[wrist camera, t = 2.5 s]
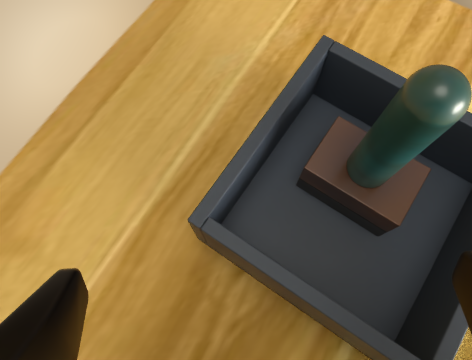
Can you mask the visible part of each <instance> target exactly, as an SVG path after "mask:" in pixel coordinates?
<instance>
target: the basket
mask: <svg viewBox="0 0 472 360" xmlns="http://www.w3.org/2000/svg"><path fill="white" fill-rule="evenodd" d="M406 80H407V79H406V78H404V77H402V76H400V75H398V74H396V73H395V72H393V71H391V70H389V69H387V68H385V67H383V66H381V65H380V64H378V63H376V62H374V61H372V60H370V59H368V58H366V57H364V56H363V55H361V54H359V53H357V52H355V51H353V50H351V49H349V48H348V47H346V46H344V45H342V44H340V43H338V42H336V41H335V42H334V40H332V39H331V38H329V37H327V36H325V35H323V36H322V38H321V39H320V40H319V42H318V43H317V44H316V46H315V47H314V48H313V50H312V51H311V53H310V54H309V55H308V57H307V58H306V59H305V61H304V62H303V63H302V65H301V66H300V67H299V69H298V70H297V72H296V73H295V74H294V76H293V77H292V78H291V80H290V81H289V82H288V84H287V85H286V87H285V88H284V89H283V91H282V92H281V93H280V95H279V96H278V97H277V99H276V100H275V101H274V103H273V104H272V106H271V107H270V108H269V110H268V111H267V112H266V114H265V115H264V116H263V118H262V119H261V120H260V122H259V123H258V125H257V126H256V127H255V129H254V130H253V131H252V133H251V134H250V135H249V137H248V138H247V140H246V141H245V142H244V144H243V145H242V146H241V148H240V149H239V150H238V152H237V153H236V154H235V156H234V157H233V159H232V160H231V161H230V163H229V164H228V165H227V167H226V168H225V169H224V171H223V172H222V174H221V175H220V176H219V178H218V179H217V180H216V182H215V183H214V184H213V186H212V187H211V188H210V190H209V191H208V193H207V194H206V195H205V197H204V198H203V199H202V201H201V202H200V203H199V205H198V206H197V207H196V209H195V210H194V212H193V213H192V214H191V216H190V217H189V218H188V222H189V224H190V225H191V227H192V229H193V230H194V232H195V234H196V236H197V238H198V239H199V240H201V241H202V242H204V243H205V244H206V245H208V246H209V247H211V248H212V249H214V250H215V251H217V252H218V253H219V254H221V255H222V256H224V257H225V258H227V259H228V260H230V261H231V262H232V263H234V264H235V265H237V266H238V267H240V268H241V269H242V270H244V271H245V272H247V273H248V274H250V275H251V276H253V277H254V278H255V279H257V280H258V281H260V282H261V283H263V284H264V285H265V286H267V287H268V288H270V289H271V290H273V291H274V292H276V293H277V294H278V295H280V296H281V297H283V298H284V299H286V300H287V301H289V302H290V303H291V304H293V305H294V306H296V307H297V308H299V309H300V310H301V311H303V312H304V313H306V314H307V315H309V316H310V317H312V318H313V319H314V320H316V321H317V322H319V323H320V324H322V325H323V326H325V327H326V328H327V329H329V330H330V331H332V332H333V333H335V334H336V335H337V336H339V337H340V338H342V339H343V340H345V341H346V342H348V343H349V344H350V345H352V346H353V347H355V348H356V349H358V350H359V351H360V352H362V353H363V354H365V355H366V356H368V357H369V358H371V359H372V360H454V358H455V355H456V353H457V351H458V349H459V347H460V344H461V342H462V340H463V338H464V335H465V333H466V331H467V329H468V327H469V326H468V324H467V321H466V318H465V316H464V313H463V311H462V308H461V305H460V303H459V300H458V298H457V295H456V293H455V290H454V287H453V285H452V280H451V277H452V272H453V270H454V268H455V265H456V263H457V261H458V259H459V256H460V254H461V253H462V252H464V251H472V113H470V112H468V111H466V113H465V114H464V116H463V117H462V118H461V119H460V120H459V121H457V122H456V123H455V124H454V125H453V126H451V127H450V128H449V129H448V130H447V131H446V132H444V133H443V134H442V135H441V136H440V137H438V138H437V139H436V140H435V141H434V142H432V143H431V144H430V145H429V146H428V147H426V148H425V149H424V150H423V151H422V152H421V153H419V154H418V155H417V156H416V157H415V158H413V159H415V160H417V161H419V162H420V163H422V164H424V165H426V166H427V167H429V168H431V171H430V172H429V174H428V176H427V178H426V180H425V182H424V183H423V185H422V187H421V189H420V191H419V192H418V194H417V196H416V198H415V200H414V202H413V203H412V205H411V207H410V209H409V211H408V212H407V214H406V216H405V218H404V220H403V222H402V223H401V225H400V226H399V227H397V228H395V229H393V230H391V231H389V232H387V233H385V234H383V235H381V236H379V237H378V236H376V235H374V234H373V233H371V232H370V231H368V230H366V229H365V228H363V227H362V226H360V225H358V224H357V223H355V222H354V221H352V220H350V219H349V218H347V217H346V216H344V215H342V214H341V213H339V212H338V211H336V210H334V209H333V208H331V207H330V206H328V205H326V204H325V203H323V202H322V201H320V200H318V199H317V198H315V197H314V196H312V195H310V194H309V193H307V192H306V191H304V190H302V189H301V188H299V187H298V186H296V183H297V181H298V179H299V177H300V175H301V173H302V170H303V168H304V167H305V165H306V164H307V162H308V161H309V159H310V158H311V156H312V155H313V153H314V152H315V150H316V148H317V147H318V145H319V144H320V142H321V141H322V139H323V138H324V136H325V135H326V133H327V132H328V130H329V129H330V127H331V126H332V124H333V123H334V121H335V120H336V118H337V117H338V116H340V117H342V118H343V119H345V120H347V121H349V122H350V123H352V124H354V125H356V126H357V127H359V128H361V129H363V130H364V131H366V132H368V131H369V130H370V128H371V127H372V126H373V124H374V123H375V122H376V120H377V119H378V118H379V116H380V115H381V114H382V112H383V111H384V110H385V108H386V107H387V105H388V104H389V103H390V101H391V100H392V99H393V97H394V96H395V95H396V93H397V92H398V91H399V89H400V88H401V87H402V85H403V84H404V83H405V81H406Z"/></svg>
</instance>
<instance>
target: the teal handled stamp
mask: <svg viewBox="0 0 472 360" xmlns="http://www.w3.org/2000/svg"><path fill="white" fill-rule="evenodd" d="M471 96H472V92H471V86H470V83H469V81H468V80H467V78H466V77H465V75H464V74H463V73H462V72H460V71H459V70H457V69H456V68H453V67H451V66H447V65H431V66H427V67H424V68H421V69H420V70H418V71H416V72H415V73H413V74H412V75H411V76H410V77H409V78H408V79H407V80H406V81H405V83H404V84H403V85H402V87H401V88H400V89H399V91H398V92H397V93H396V95H395V96H394V97H393V99H392V100H391V101H390V103H389V104H388V105H387V107H386V108H385V110H384V111H383V112H382V114H381V115H380V116H379V118H378V119H377V120H376V122H375V123H374V124H373V126H372V127H371V128H370V130H369V131H368V132H366V131H364V130H363V129H361V128H359V127H357V126H356V125H354V124H352V123H350V122H349V121H347V120H345V119H343V118H342V117H340V116H338V117H337V118H336V120H335V121H334V123H333V124H332V126H331V127H330V129H329V130H328V132H327V133H326V135H325V136H324V138H323V139H322V141H321V142H320V144H319V145H318V147H317V148H316V150H315V152H314V153H313V155H312V156H311V158H310V159H309V161H308V162H307V164H306V165H305V167H304V168H303V170H302V173H301V175H300V177H299V179H298V181H297V183H296V186H298V187H299V188H301V189H302V190H304V191H306V192H307V193H309V194H310V195H312V196H314V197H315V198H317V199H318V200H320V201H322V202H323V203H325V204H326V205H328V206H330V207H331V208H333V209H334V210H336V211H338V212H339V213H341V214H342V215H344V216H346V217H347V218H349V219H350V220H352V221H354V222H355V223H357V224H358V225H360V226H362V227H363V228H365V229H366V230H368V231H370V232H371V233H373V234H374V235H376V236H378V237H379V236H381V235H383V234H385V233H387V232H389V231H391V230H393V229H395V228H397V227H399V226H400V225H401V223H402V222H403V220H404V218H405V216H406V214H407V212H408V211H409V209H410V207H411V205H412V203H413V202H414V200H415V198H416V196H417V194H418V192H419V191H420V189H421V187H422V185H423V183H424V182H425V180H426V178H427V176H428V174H429V172H430V171H431V168H429V167H427V166H426V165H424V164H422V163H420V162H419V161H417V160H415V159H413V158H415V157H416V156H417V155H418V154H419V153H421V152H422V151H423V150H424V149H425V148H426V147H428V146H429V145H430V144H431V143H432V142H434V141H435V140H436V139H437V138H438V137H440V136H441V135H442V134H443V133H444V132H446V131H447V130H448V129H449V128H450V127H451V126H453V125H454V124H455V123H456V122H457V121H459V120H460V119H461V118H462V117H463V116H464V114H465V113H466V111H467V110H468V108H469V105H470V102H471Z"/></svg>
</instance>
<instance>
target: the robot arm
mask: <svg viewBox="0 0 472 360" xmlns="http://www.w3.org/2000/svg"><path fill="white" fill-rule="evenodd" d="M451 280H452V285H453V287H454V290H455V293H456V295H457V298H458V300H459V303H460V305H461V308H462V311H463V313H464V316H465V318H466V321H467V324H468V326H469V329H470V331H471V334H472V251H464V252H462V253H461V254H460V256H459V259H458V261H457V263H456V265H455V268H454V270H453V272H452V277H451ZM87 304H88V290H87V288H86V285H85V282H84V280H83V277H82V275H81V272H80V271H79V270H78V269H76V268H72V269H61V270H59V271H57V272H56V273H55V274H54V275H53V276H52V277H51V278H49V279H48V280H47V281H46V282H45V283H44V284H43V285H42V286H41V287H40V288H39V289H38V290H36V291H35V292H34V293H33V294H32V295H31V296H30V297H29V298H28V299H27V300H26V301H24V302H23V303H22V304H21V305H20V306H19V307H18V308H17V309H16V310H15V311H14V312H13V313H11V314H10V315H9V316H8V317H7V318H6V319H5V320H4V321H3V322H2V323H1V324H0V360H77V357H78V352H79V347H80V341H81V336H82V331H83V325H84V320H85V315H86V309H87Z"/></svg>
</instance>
